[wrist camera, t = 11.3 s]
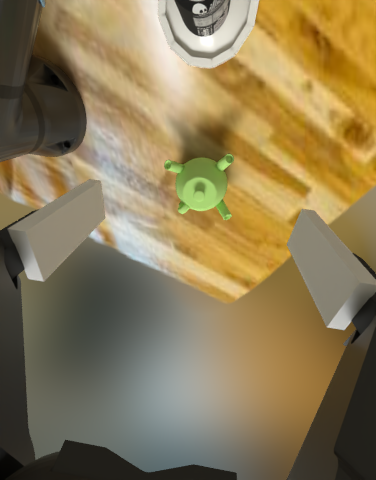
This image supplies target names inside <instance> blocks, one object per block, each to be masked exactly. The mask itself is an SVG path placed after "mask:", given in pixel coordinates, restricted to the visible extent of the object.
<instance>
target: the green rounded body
mask: <svg viewBox="0 0 376 480" xmlns="http://www.w3.org/2000/svg"><path fill="white" fill-rule="evenodd" d="M233 161H234V157H233V155H231V154H227V155H225V156H224V157H223V158H222V159H220V160H219V161H218V162H215V161H214V160H212V159H209V158H204V157H200V158H194V159H192V160H189V161H188V162H186V163H185V164H180V163H177V162H174V161H171V160H167V161H166V162H165V164H164V167H165V169H167V170H170V171H173V172H176V173H178V174H177V177H176V191H177V194H178V197H179V198H180V200H181V202H180V203H179V208H178V211H179V213H181V214H184V213H185V212H186V211H188V210H189V209H190V208H191V209H193V210H197V211H205V210H209V209H211V208H213V207H215V206H216V207H217V209H218V211H219V212H220V214H221V215H222V217H223V219H224V220H227V219H229V218H231V216H232V215H231V213H230V212H229V210H228V208H227V206H226V205H225V203H224V201H223V197H224V195H225V193H226V190H227V176H226V173H225V171H224V169H225V168H227V167H228V166H229V165H230V164H231V163H232V162H233Z"/></svg>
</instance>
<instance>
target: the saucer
mask: <svg viewBox="0 0 376 480" xmlns="http://www.w3.org/2000/svg"><path fill="white" fill-rule="evenodd" d="M258 3H259V0H231V1H230V7H229V12H228V15H227V17H226V20H225V22H224V23H223V25H222V26H221V27H220V29H219V30H218V31H216V32H215V33H214V34H212V35H210V36H206V37H200V36H197V35H195V34H193V33H192V32H190V31H189V30H188V28H187V27H186V26H185V24H184V22H183V20H182V17H181V15H180V12H179V10H178V8H177V5H176V3H175V1H174V0H158V16H159V17H158V18H159V21H160V24H161V26H162V29H163V32H164V34H165V37H166V40H167V43H168V45H169V47H170V49H171V50H173V51H174V52H175V53H176V54H177V55H178V56H179V57H180V58H181V59H182V60H183V61H184V62H186V63H187V64H188V65H189V66H193V67H198V68H210V69H212V68H215V67H217V66H219V65H221V64H223V63H225V62H226V61H228V60H229V59H231V58H233V57H234V56H235V55H236V54H237V52H238V51H239V49H240V48H241V46H242V45H243V44H244V42H245V40H246V39H247V37H248V36H249V34H250V32H251V31H252V29H253V27H254V23H255V18H256V13H257V8H258Z"/></svg>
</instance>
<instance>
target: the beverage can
mask: <svg viewBox="0 0 376 480" xmlns="http://www.w3.org/2000/svg"><path fill="white" fill-rule="evenodd" d="M174 1H175V3H176V5H177V8H178V10H179V12H180V15H181V17H182V20H183V22H184V24H185V26H186V27H187V28H188V30H189V31H190V32H192V33H193V34H195V35H197V36H200V37H206V36H210V35H212V34H214V33H215V32H216V31H218V30H219V29H220V27H221V26H222V25H223V23H224V22H225V20H226V17H227V15H228V12H229V7H230V1H231V0H174Z"/></svg>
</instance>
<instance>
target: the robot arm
mask: <svg viewBox="0 0 376 480" xmlns="http://www.w3.org/2000/svg"><path fill="white" fill-rule="evenodd" d="M42 7H45V0H0V162H2V161H5V160H8V159H12V158H15V157H19V156H22V155H25V154H34V155H40V156H47V157H58V156H62V155H65V154H68V153H71V152H73V151H74V150H75V149H77V148H78V147H79V145H80V144H81V142H82V141H83V138H84V136H85V131H86V114H85V109H84V106H83V103H82V100H81V97H80V95H79V93H78V91H77V89H76V88H75V86H74V84H73V83H72V82H71V80H70V79H69V78H68V77H67V75H66V74H65V73H64V72H63V71H62V70H61V69H60V68H58V67H57V66H56V65H54V64H53V63H51V62H50V61H48V60H46V59H44V58H41V57H38V56H35V55H32V52H33V48H34V43H35V39H36V34H37V29H38V25H39V20H40V16H41V11H42ZM104 219H105V210H104V202H103V194H102V186H101V181H99V180H92V179H89V180H87V181H86V182H84V183H82V184H81V185H79V186H77V187H76V188H74V189H72V190H71V191H69V192H67V193H66V194H64V195H63V196H61V197H59V198H58V199H56V200H54V201H53V202H51V203H49V204H48V205H46V206H44V207H43V208H41V209H38V210H35V211H32V212H31V213H29V214H28V215H26V216H25V217H22V218H21V219H19V220H18V221H15V222H14V223H12V224H10V225H9V226H7V227H5V228H4V229H2V230H0V480H237V475H236V473H235V472H230V471H224V470H219V469H214V468H209V467H204V466H199V465H188V466H183V467H178V468H173V469H166V470H161V471H156V472H149V473H148V472H144V471H142V470H140V469H139V468H137V467H135V466H134V465H132V464H131V463H129V462H127V461H126V460H124V459H123V458H121V457H120V456H118V455H117V454H115V453H114V452H112V451H110V450H109V449H107V448H105V447H100V446H95V445H89V444H84V443H79V442H74V441H68V440H65V442H64V444H63V446H62V448H61V450H60V451H59V452H55V453H52V454H49V455H46V456H43V457H41V458H39V459H37V460H35V452H34V448H33V443H32V441H31V437H30V434H29V428H28V413H27V394H26V376H25V356H24V338H23V319H22V299H21V281H20V278H19V276H18V274H19V273H21V272H22V271H23V270H25V272H26V274H27V277H28V279H32V280H38V281H45V280H46V279H47V278H48V277H49V276H50V274H52V273H53V271H54V270H55V269H56V268H57V267H58V266H59V265H60V264H61V263H62V262H63V261H64V260H65V259H66V258H67V257H68V256H69V255H70V254H71V253H72V252H73V251H74V250H75V249H76V248H77V247H78V246H79V245H80V244H81V243H82V241H84V239H85V238H86V237H87V236H88V235H89V234H90V233H91V232H92V231H93V230H94V229H95V228H96V227H97V226H98V225H99V224H100V223H101V222H102V221H103V220H104ZM287 246H288V248H289V250H290V252H291V254H292V256H293V258H294V261H295V263H296V265H297V266H298V269H299V271H300V273H301V275H302V277H303V279H304V281H305V283H306V285H307V287H308V289H309V291H310V294H311V296H312V298H313V300H314V302H315V304H316V306H317V308H318V310H319V312H320V314H321V316H322V318H323V320H324V322H325V324H326V326H327V327H329V328H335V329H341V330H345V329H346V327H347V326H348V325H349V324H350V322H351V321H352V322H353V324H354V325H355V327H356V330H355V331H354V333H353V334H352V335H351V336H350V337H349V338H348V339H347V340H346V341H345V343H344V345H345V346H347V347H346V349H345V351H344V353H343V355H342V357H341V360H340V362H339V364H338V366H337V369H336V371H335V373H334V375H333V378H332V380H331V382H330V384H329V387H328V389H327V391H326V393H325V396H324V398H323V400H322V402H321V405H320V407H319V409H318V411H317V413H316V416H315V418H314V420H313V422H312V424H311V427H310V429H309V431H308V433H307V436H306V438H305V440H304V442H303V445H302V447H301V449H300V451H299V454H298V456H297V458H296V460H295V462H294V465H293V467H292V469H291V471H290V474H289V476H288V478H287V480H376V274H375V272H374V271H373V270H372V269H371V268H370V267H369V266H368V264H367V263H366V262H365V261H364V260H363V259H361V258H360V257H359V256H357V255H356V254H354V253H352V252H351V251H350V250H349V249H348V248H347V247H346V246H345V245H344V243H343V242H342V241H341V240H340V239H339V238H338V237H337V236H336V234H335V233H334V232H333V231H332V230H331V229H330V228H329V227H328V225H327V224H326V223H325V222H324V221H323V220H322V219H321V218H320V216H319V215H318V214H317V213H316V212H315V211H313V210H306V209H302V210H301V213H300V215H299V217H298V220H297V222H296V224H295V227H294V229H293V231H292V233H291V236H290V238H289V240H288V243H287Z"/></svg>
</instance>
